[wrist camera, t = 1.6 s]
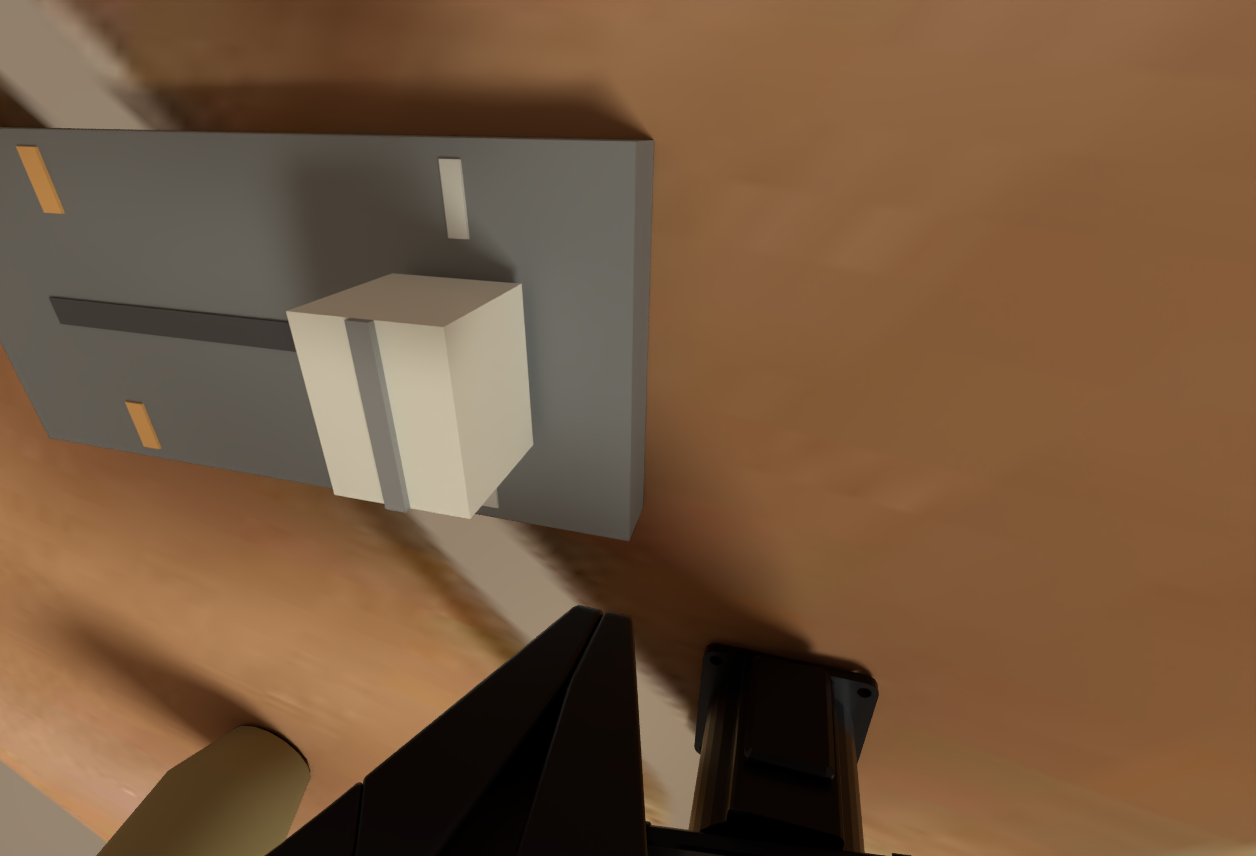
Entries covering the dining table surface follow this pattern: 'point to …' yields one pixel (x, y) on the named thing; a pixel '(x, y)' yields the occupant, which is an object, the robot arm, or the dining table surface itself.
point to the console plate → (322, 290)
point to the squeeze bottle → (219, 801)
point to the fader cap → (418, 389)
